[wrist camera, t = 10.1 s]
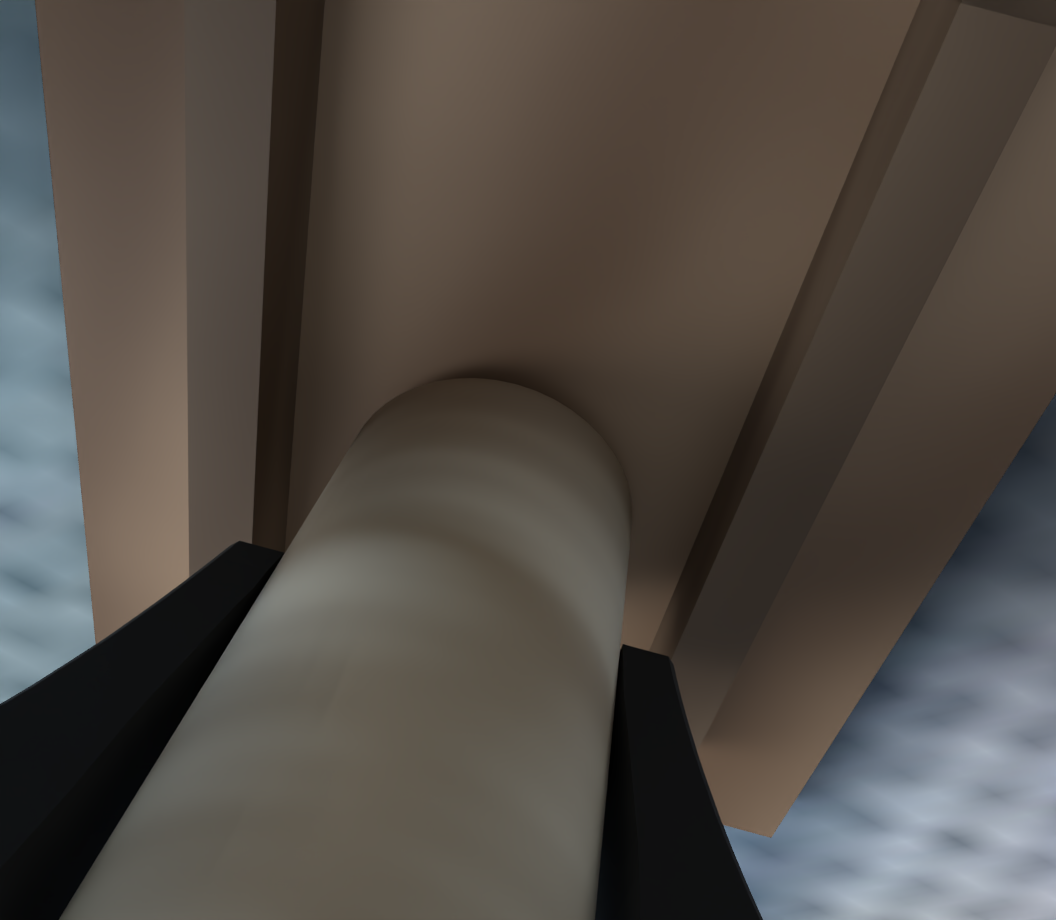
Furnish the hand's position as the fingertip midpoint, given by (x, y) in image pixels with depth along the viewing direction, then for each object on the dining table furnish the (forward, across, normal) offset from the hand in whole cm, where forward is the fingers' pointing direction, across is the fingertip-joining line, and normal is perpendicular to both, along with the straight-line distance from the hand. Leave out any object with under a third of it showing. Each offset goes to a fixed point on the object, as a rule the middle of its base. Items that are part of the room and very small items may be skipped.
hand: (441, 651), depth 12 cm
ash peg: (+3, 0, 0) cm, 3 cm away
